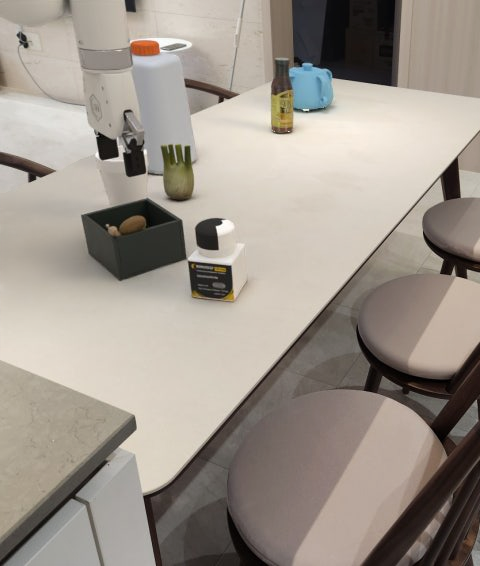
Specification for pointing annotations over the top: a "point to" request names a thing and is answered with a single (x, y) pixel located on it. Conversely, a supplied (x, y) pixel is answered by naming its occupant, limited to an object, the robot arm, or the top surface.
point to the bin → (134, 238)
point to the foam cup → (122, 180)
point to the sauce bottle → (281, 97)
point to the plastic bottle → (161, 102)
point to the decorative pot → (311, 87)
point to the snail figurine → (128, 226)
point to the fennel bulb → (177, 172)
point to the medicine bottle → (217, 261)
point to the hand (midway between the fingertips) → (122, 166)
